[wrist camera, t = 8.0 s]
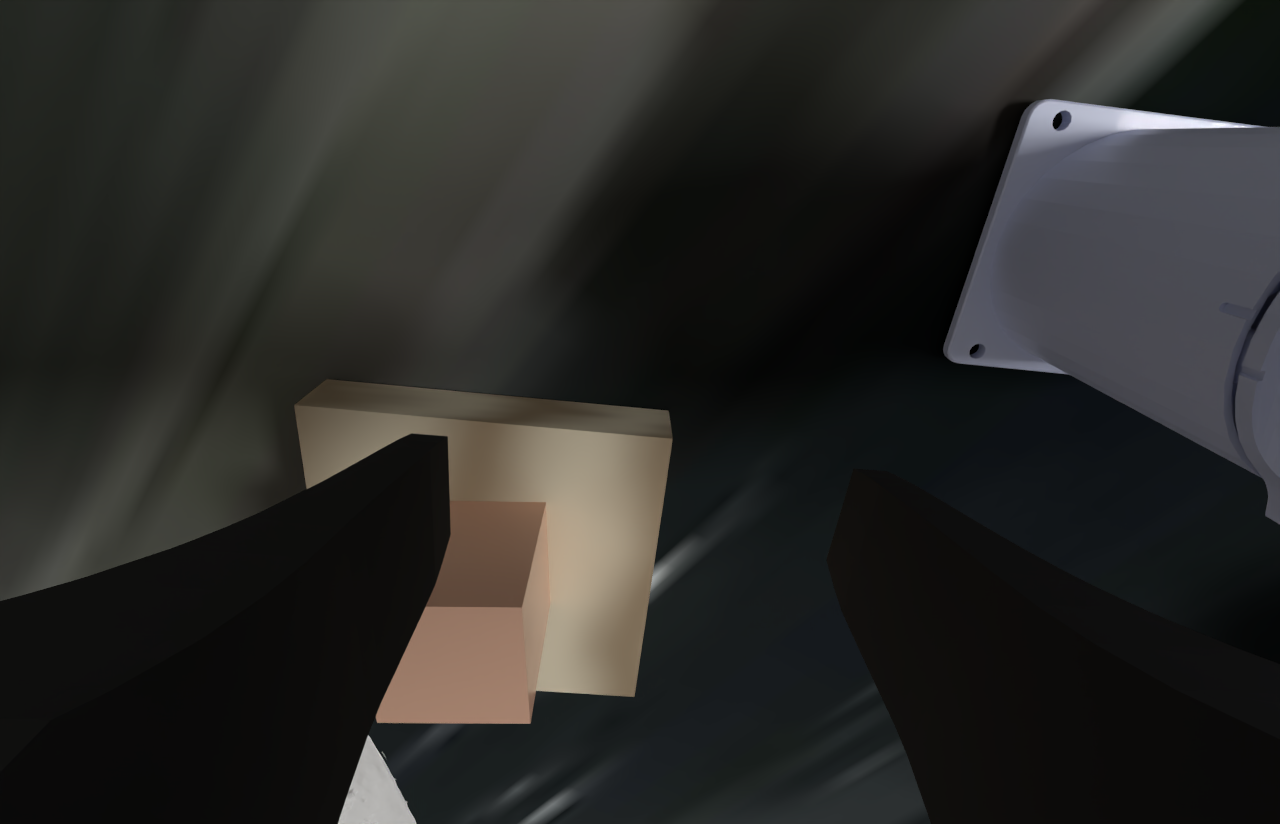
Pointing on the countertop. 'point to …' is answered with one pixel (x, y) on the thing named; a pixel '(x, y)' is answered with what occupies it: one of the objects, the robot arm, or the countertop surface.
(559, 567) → the base
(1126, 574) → the countertop surface
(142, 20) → the countertop surface
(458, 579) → the block
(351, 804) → the terrain model
